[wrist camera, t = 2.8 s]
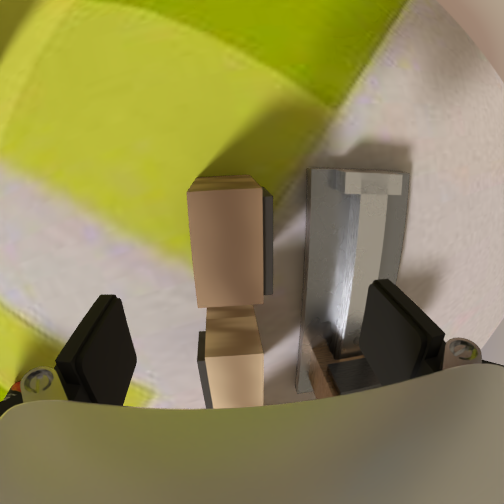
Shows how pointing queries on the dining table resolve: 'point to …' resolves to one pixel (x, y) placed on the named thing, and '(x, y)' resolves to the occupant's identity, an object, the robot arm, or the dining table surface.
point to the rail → (332, 259)
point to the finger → (231, 240)
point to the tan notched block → (231, 358)
